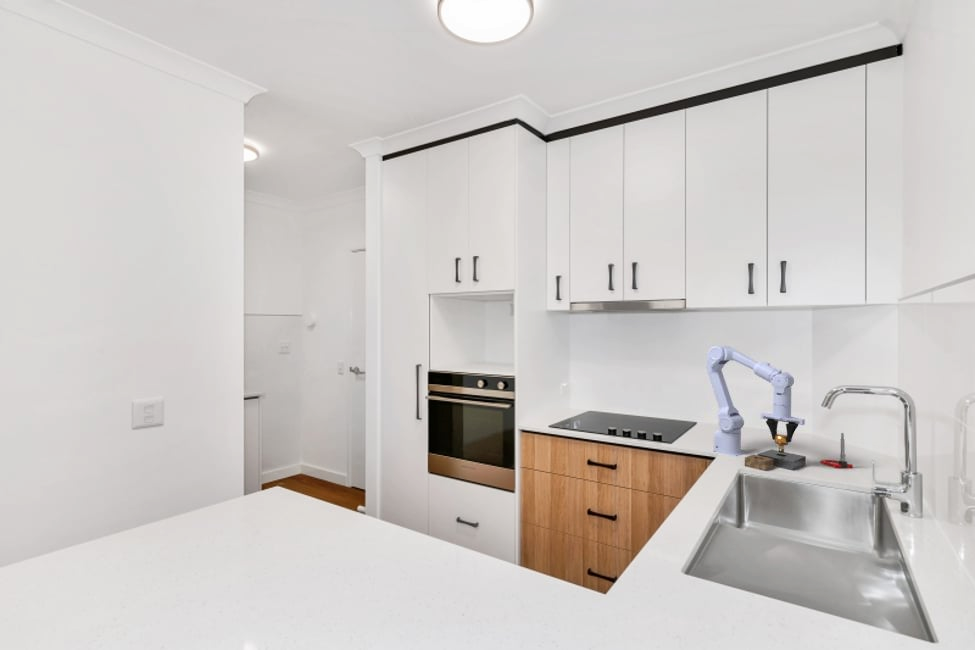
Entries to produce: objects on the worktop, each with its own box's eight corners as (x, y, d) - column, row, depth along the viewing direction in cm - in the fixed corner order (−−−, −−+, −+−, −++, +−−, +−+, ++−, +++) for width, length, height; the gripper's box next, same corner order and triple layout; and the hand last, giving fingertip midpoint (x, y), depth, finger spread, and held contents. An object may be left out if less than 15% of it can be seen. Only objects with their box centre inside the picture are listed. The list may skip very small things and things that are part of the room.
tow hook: (815, 462, 185) (833, 468, 176) (815, 429, 186) (832, 433, 177) (836, 462, 185) (855, 468, 176) (836, 429, 186) (855, 433, 177)
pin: (772, 451, 181) (772, 435, 181) (777, 449, 183) (778, 433, 183) (784, 454, 177) (785, 437, 177) (790, 452, 179) (790, 436, 179)
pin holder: (744, 466, 176) (744, 457, 176) (753, 463, 181) (753, 454, 181) (764, 471, 171) (764, 462, 171) (773, 468, 175) (773, 458, 175)
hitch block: (757, 463, 181) (757, 454, 181) (771, 458, 189) (771, 449, 189) (792, 471, 172) (792, 461, 172) (805, 465, 179) (805, 456, 179)
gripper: (757, 403, 183) (756, 438, 184) (799, 408, 172) (798, 446, 172) (765, 401, 188) (764, 435, 188) (807, 406, 176) (806, 443, 176)
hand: (781, 440), depth 180 cm, fingers closed on pin, 4 cm apart
